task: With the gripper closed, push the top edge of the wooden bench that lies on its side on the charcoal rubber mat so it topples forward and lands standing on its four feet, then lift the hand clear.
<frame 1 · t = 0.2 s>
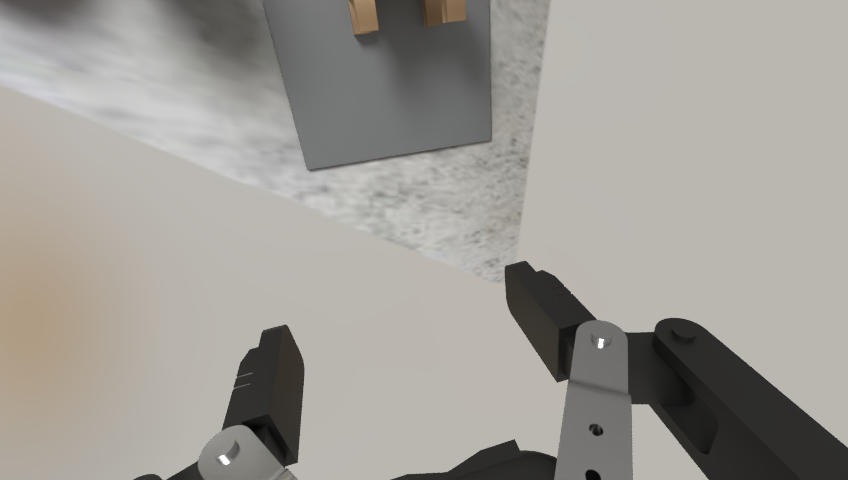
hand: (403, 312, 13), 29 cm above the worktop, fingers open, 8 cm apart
wooden bench: (404, 28, 31), point 4 cm above the worktop, touching mat
mat: (384, 25, 34), on the worktop
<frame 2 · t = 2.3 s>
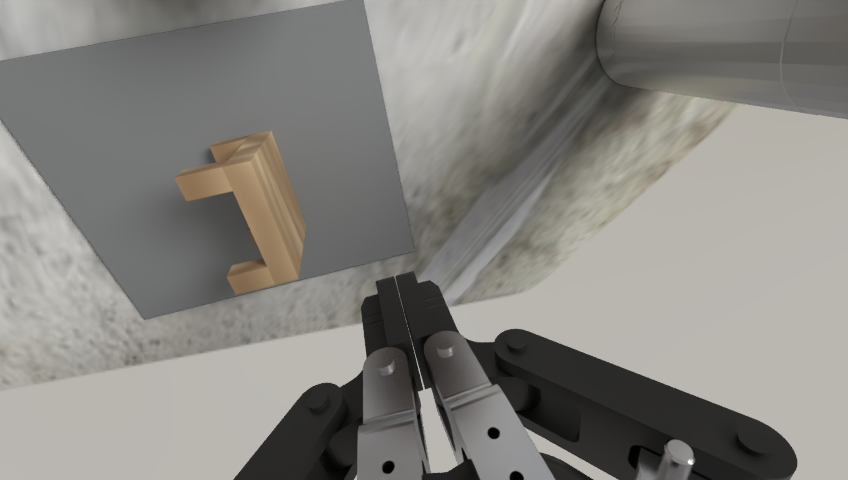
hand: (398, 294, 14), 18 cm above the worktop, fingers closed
wooden bench: (224, 214, 25), point 4 cm above the worktop, touching mat
mat: (240, 178, 28), on the worktop
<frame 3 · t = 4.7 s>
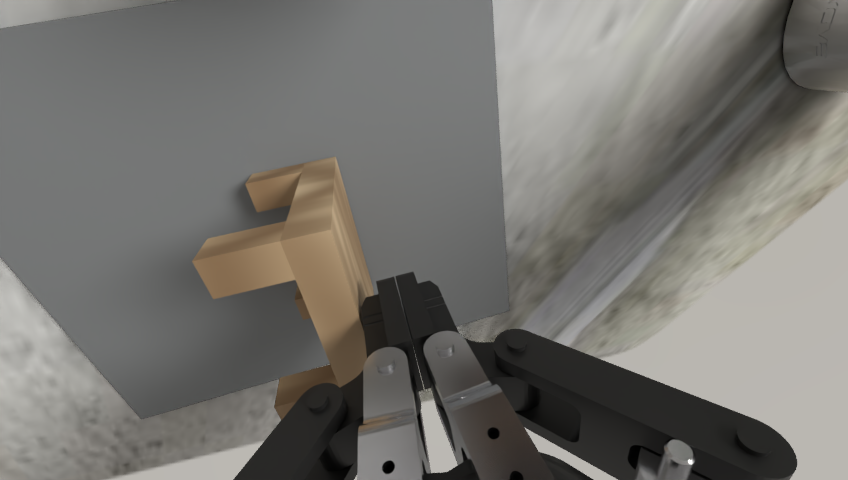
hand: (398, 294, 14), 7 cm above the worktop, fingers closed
wooden bench: (267, 290, 16), point 4 cm above the worktop, touching gripper, mat
mat: (285, 223, 19), on the worktop
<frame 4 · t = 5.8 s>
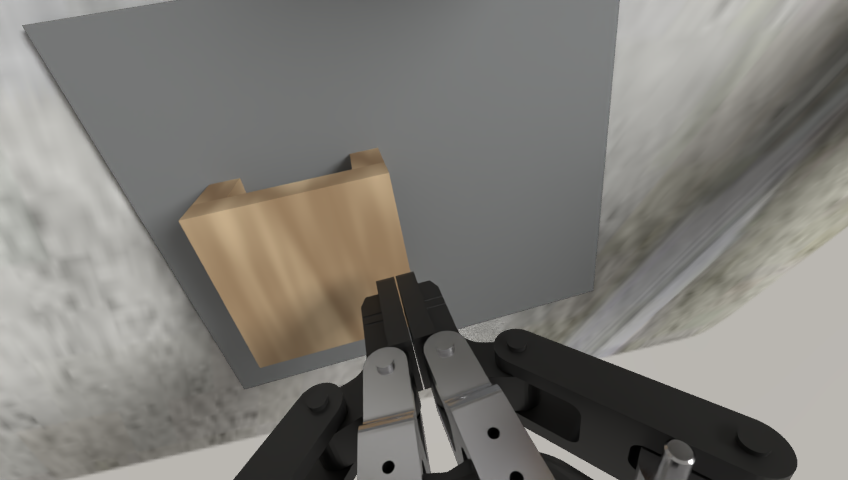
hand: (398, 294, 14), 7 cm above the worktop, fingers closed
wooden bench: (320, 237, 20), resting on mat, tilted 90°
mat: (398, 198, 20), on the worktop
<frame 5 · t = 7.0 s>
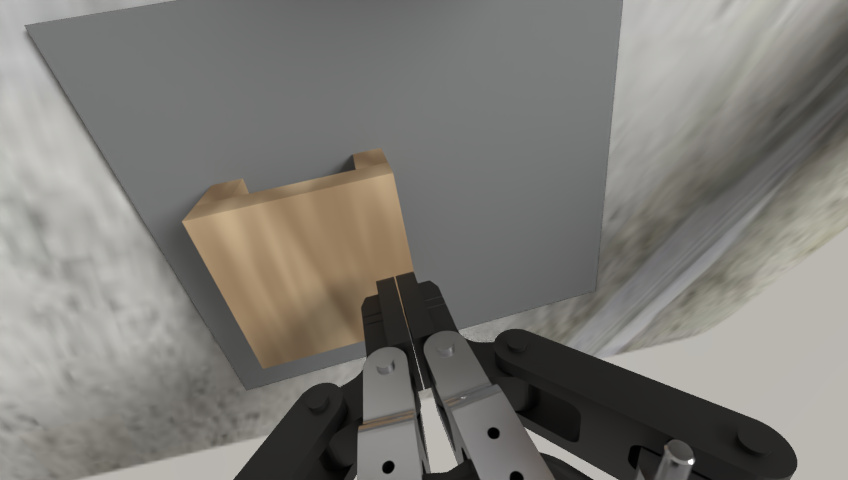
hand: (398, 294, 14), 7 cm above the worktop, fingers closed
wooden bench: (323, 238, 19), resting on mat, tilted 90°
mat: (401, 198, 20), on the worktop
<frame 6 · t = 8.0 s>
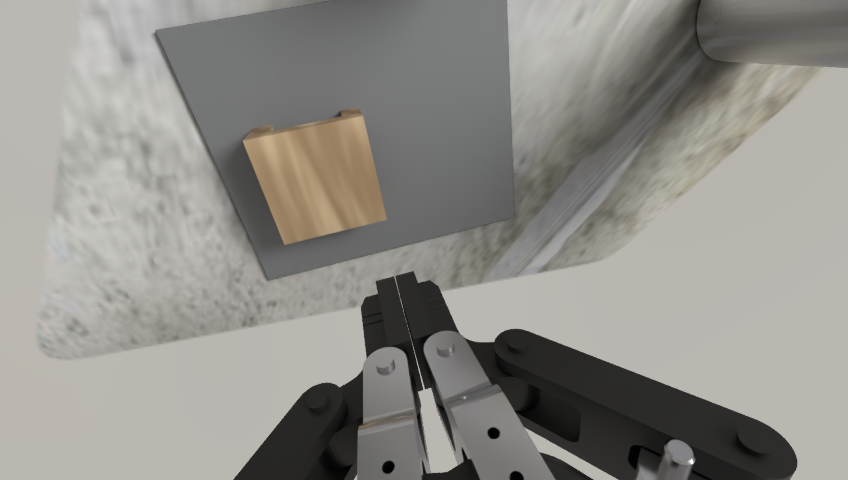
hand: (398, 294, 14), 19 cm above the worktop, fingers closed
wooden bench: (321, 167, 30), resting on mat, tilted 90°
mat: (373, 142, 30), on the worktop
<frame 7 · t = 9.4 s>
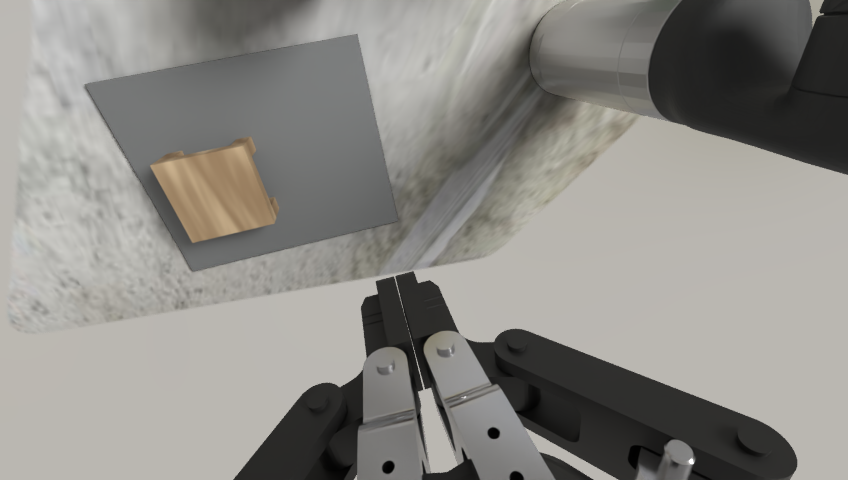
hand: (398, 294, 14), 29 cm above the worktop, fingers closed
wooden bench: (226, 182, 38), resting on mat, tilted 90°
mat: (267, 162, 39), on the worktop
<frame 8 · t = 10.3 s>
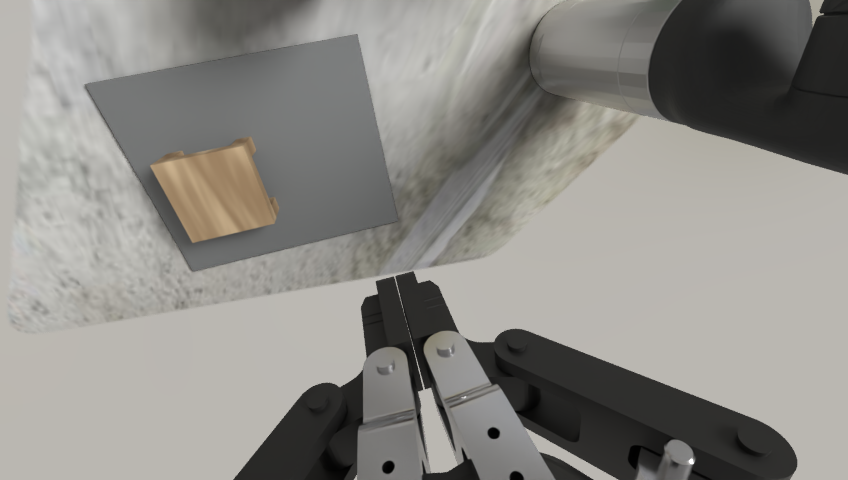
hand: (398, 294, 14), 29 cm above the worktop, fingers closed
wooden bench: (226, 182, 38), resting on mat, tilted 90°
mat: (267, 162, 39), on the worktop
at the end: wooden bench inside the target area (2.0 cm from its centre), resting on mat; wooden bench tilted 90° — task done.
